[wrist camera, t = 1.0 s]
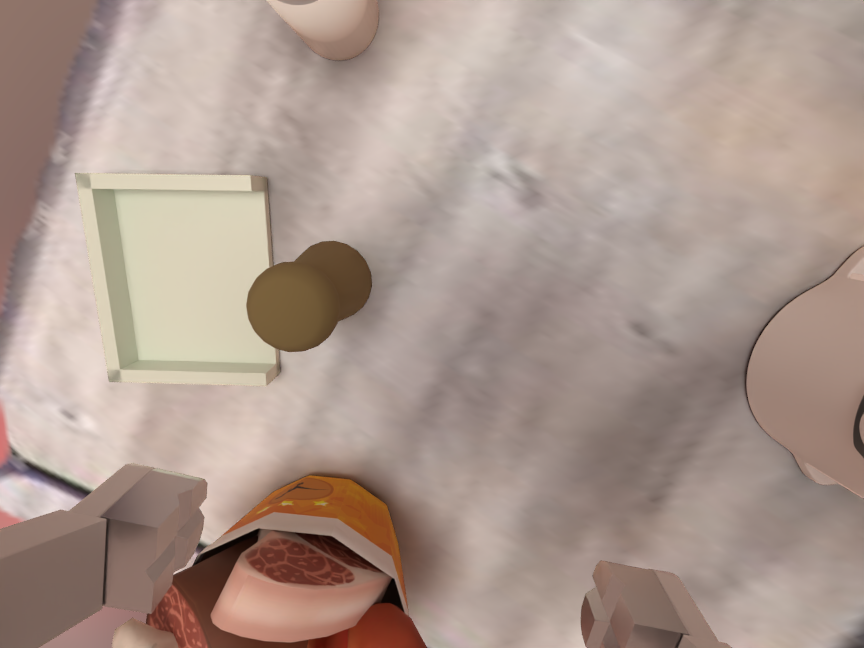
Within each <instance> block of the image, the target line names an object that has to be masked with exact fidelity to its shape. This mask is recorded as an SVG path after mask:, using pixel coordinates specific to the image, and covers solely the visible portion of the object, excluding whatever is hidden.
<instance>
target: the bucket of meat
mask: <svg viewBox="0 0 864 648" xmlns="http://www.w3.org/2000/svg"><path fill="white" fill-rule="evenodd" d="M112 648H427V647H426V645H425V643H424V641H423V639H422V638H421V636H420V634H419V632H418V630H417V628H416V627H415V625H414V623H413V621H412V619H411V618H410V617H409V612H408V605H407V598H406V592H405V585H404V579H403V572H402V565H401V559H400V552H399V546H398V541H397V538H396V534H395V531H394V528H393V524H392V521H391V518H390V514H389V511H388V507H387V505H386V504H385V503H383V502H382V501H381V500H379V499H378V498H376V497H375V496H373V495H372V494H371V493H369V492H368V491H366V490H365V489H364V488H362V487H361V486H359V485H358V484H357V483H355V482H354V481H352V480H351V479H341V478H331V477H321V476H311V475H308V476H306V477H304V478H302V479H300V480H298V481H295V482H293V483H291V484H289V485H287V486H285V487H283V488H280V489H278V490H276V491H274V492H272V493H271V494H270V495H269V496H268V497H267V498H265V499H264V500H263V501H262V502H261V503H260V504H258V505H257V506H256V507H255V508H254V509H253V510H251V511H250V512H249V513H248V514H247V515H246V516H244V517H243V518H242V519H241V520H240V521H239V522H237V523H236V524H235V525H234V526H233V527H231V528H230V529H229V530H228V531H227V532H226V533H224V534H223V535H222V536H221V537H220V538H219V539H217V540H216V541H215V542H214V543H213V544H211V545H209V546H207V547H206V548H205V549H204V550H203V551H202V552H201V553H200V554H199V555H198V556H197V557H196V560H195V562H194V564H193V566H192V567H189V568H187V569H185V570H183V571H181V572H179V573H176V574H174V575H173V582H172V586H171V587H170V588H169V590H168V591H167V593H166V594H165V595H164V597H163V598H162V600H161V601H160V602H159V604H158V605H157V607H156V608H155V609H154V611H153V612H152V614H148V613H147V619H146V624H145V623H143V622H141V621H138V620H136V619H134V618H131V619H130V620H129V621H127V622H126V623H124V624H123V625H121V626H120V627H118V628H116V629H115V632H114V637H113V642H112Z"/></svg>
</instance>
